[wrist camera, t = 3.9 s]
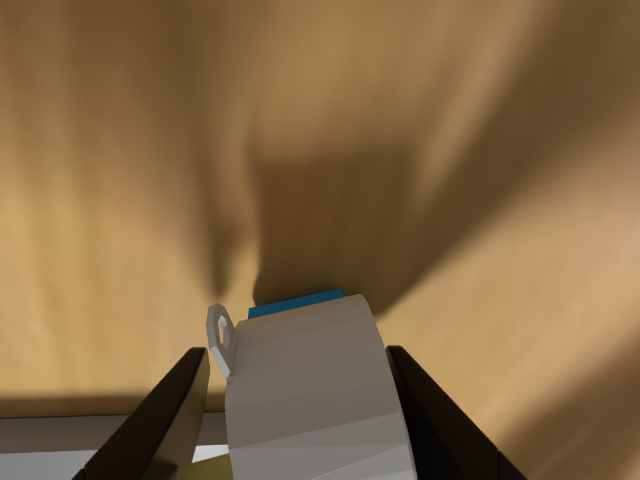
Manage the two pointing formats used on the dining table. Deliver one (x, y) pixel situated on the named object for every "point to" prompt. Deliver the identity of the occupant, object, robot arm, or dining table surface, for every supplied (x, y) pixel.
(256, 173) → the dining table surface
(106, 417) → the rail
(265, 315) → the electric motor
